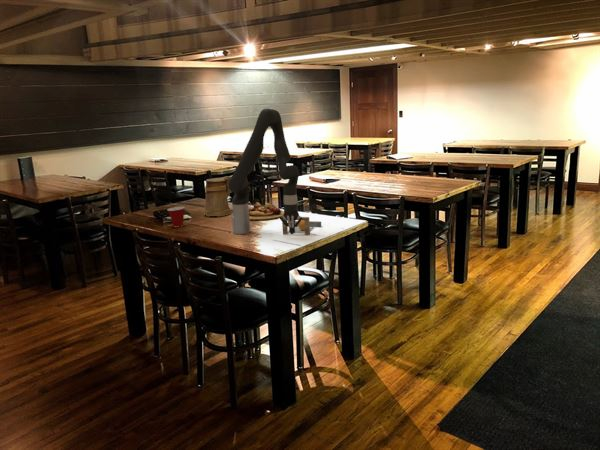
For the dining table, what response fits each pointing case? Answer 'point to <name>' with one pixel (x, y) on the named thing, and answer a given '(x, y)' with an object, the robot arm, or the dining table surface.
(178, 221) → the plastic cup
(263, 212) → the wooden plate with food
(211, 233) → the dining table surface
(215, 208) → the tankard
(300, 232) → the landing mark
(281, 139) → the robot arm
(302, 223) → the ball
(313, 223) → the wall
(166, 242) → the dining table surface
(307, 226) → the tan arch
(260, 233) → the dining table surface
